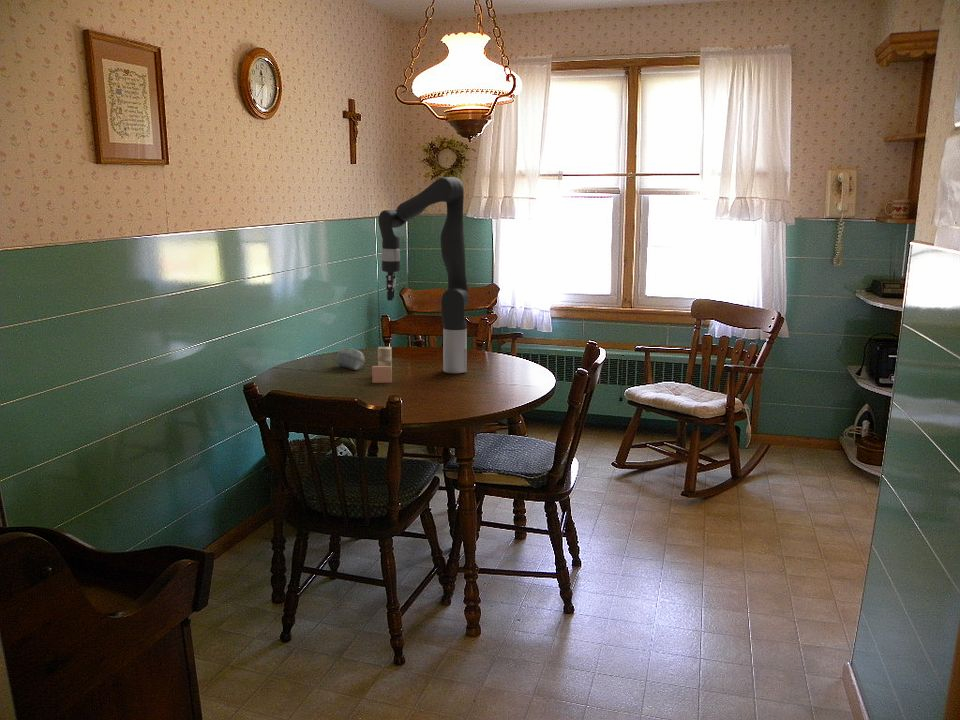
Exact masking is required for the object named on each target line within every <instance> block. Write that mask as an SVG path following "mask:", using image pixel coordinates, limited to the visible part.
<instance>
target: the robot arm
mask: <svg viewBox="0 0 960 720" xmlns="http://www.w3.org/2000/svg"><path fill="white" fill-rule="evenodd" d="M463 184H464V183H463V182H462V180H460V178H458V177H456V176H443V177H439V178H437V179H436V180H434V181H433V182H432V183H431V184H430V185H429V186H427V187H426V188H425V189H423V190H422V191H420V192H419V193H418V194H416V195H414V196H413V197H411V198H409V199H407V200H405V201H403V202H401V203H400V204H399V205H397V207H396V209H393V210H392V209H390V210H389V209H388V210H387V209H385V210H381V212H380V213H379V216H378V217H377V218H378V219H377V220H378V227H379V230H380V234H381V238H382V239H381V240H382V242H381V243H382V244H381V245H382V247H381V248H382V249H381V271H382V272H385V273H387V275H386V276H385V287H386V288H385V289H386V293H387V294H386V296H387V298H386V300H387V301H393V299H395V288H396V284H397V283H396V281H397V275H396V273H399V272H400V271H401V251H400V248H401V247H400V244H401V243H400V242H401V241H400V240H401V239H400V236H399V234H397V233H395V232H394V229H395V228H400V227H402V226H403V225H405V224H406V223H407V222H408V221H409V220H411V219H413V218H415V217H417V216H419V215H420V214H422V213H423V212H424V211H425V210H426V209H427V208H428V207H430V206H431V205H433V204H437V203H442V202H443V203H446V219H445V222H444V225H443V226H442V227H443V228H442V230H441V233H440V249H441V250H440V253H441V258H442V261H443V264H444V267H445V270H446V273H447V289H446V290H445V291H444V292H443V293H442V296H441V302H440V306H441V308H440V309H441V321H442V324H443V327H442V328H443V330H442V331H443V333H442V334H443V335H442V336H443V337H442V338H443V342H442V343H443V344H442V345H443V348H442V349H443V352H442V353H443V355H442V356H443V357H442V358H443V360H442V361H443V363H442V364H443V367H442V368H443V372H444V373H446V374H447V373H448V374H462V373H467V371H468V369H467V368H468V365H467V364H468V363H467V361H468V359H467V358H468V357H467V356H468V353H467V351H468V350H467V349H468V348H467V347H468V346H467V345H468V344H467V343H468V342H467V338H468V336H467V335H468V333H467V331H468V323H467V321H466V319H465V308H466V307H467V306H468V304H469V300H470V295H469V290H468V289H469V288H468V283H467V282H468V281H467V274H466V249H465V248H466V246H465V243H466V242H465V231H464V195H465V194H464V193H465V192H464V190H465V189H464V185H463Z"/></svg>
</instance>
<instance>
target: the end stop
mask: <svg viewBox="0 0 960 720" xmlns="http://www.w3.org/2000/svg"><path fill="white" fill-rule="evenodd" d="M371 368H372V369H371V370H372V371H371V375H372V377H371V379H372V381H371V382H372V383H375V384H376V383H378V384H379V383H380V384H381V383H383V384H389V383H390V384H392V383H393V379H392V377H393V374H392V373H393V369H392V368H393V365H392V366H378V365H373V366H372V367H371Z"/></svg>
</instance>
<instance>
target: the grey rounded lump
mask: <svg viewBox="0 0 960 720" xmlns="http://www.w3.org/2000/svg"><path fill="white" fill-rule="evenodd" d="M335 358H336V359H335V360H336V363H337V365H338V366H339V367H341V368H348V369H350V370H353V371H359V370H360V369H362V367H363V366H364V364H365V355H364V353H363V352H362V351H360V350H358V349H355V348H352V347H351V348H350V347H341V348H340V349H339V350H338V352H337V354H336V356H335Z"/></svg>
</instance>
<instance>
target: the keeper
mask: <svg viewBox="0 0 960 720" xmlns="http://www.w3.org/2000/svg"><path fill="white" fill-rule="evenodd" d="M392 360H393V359H392V346H378V349H377V363H378V364H377V366H392V367H393V363H392V362H393V361H392Z"/></svg>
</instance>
